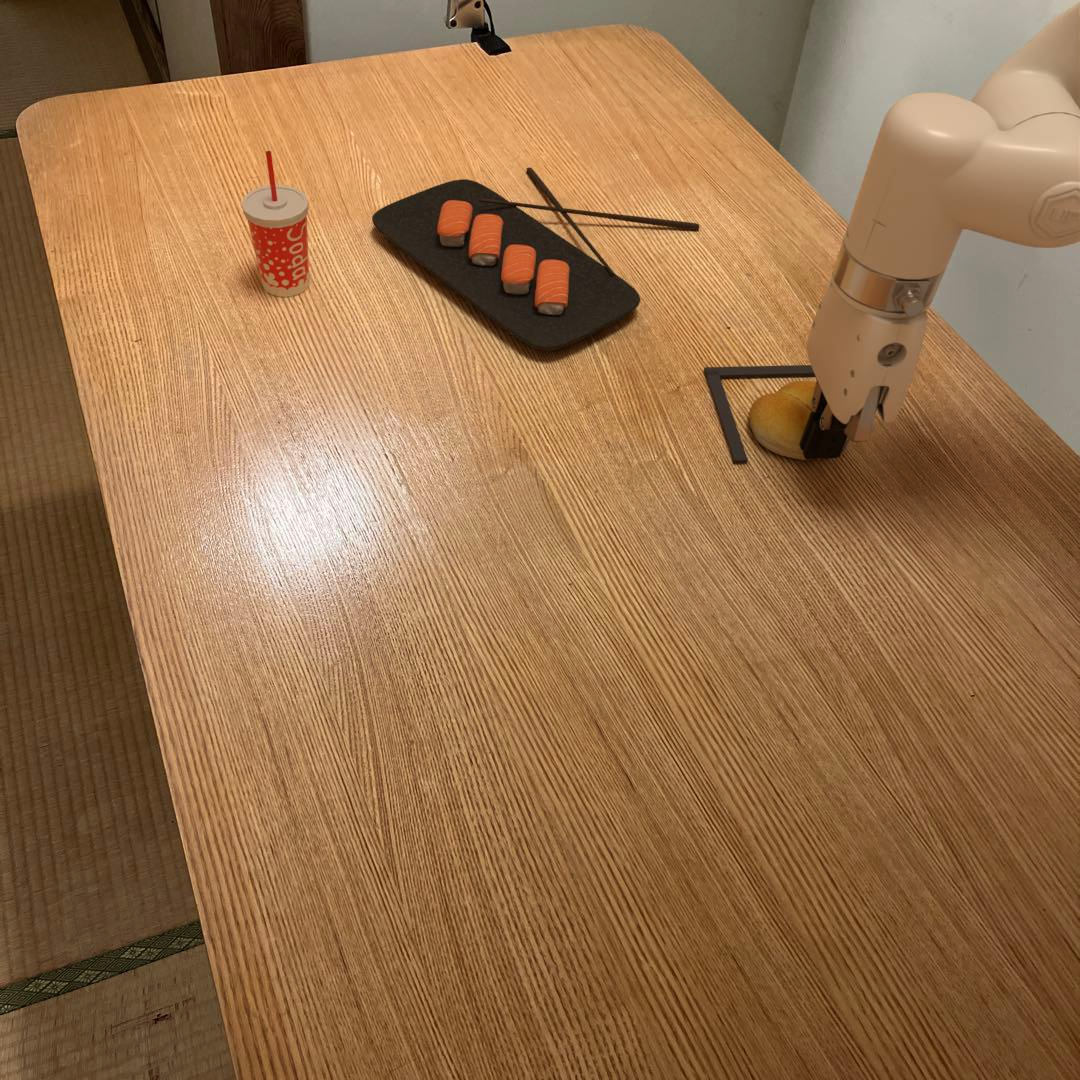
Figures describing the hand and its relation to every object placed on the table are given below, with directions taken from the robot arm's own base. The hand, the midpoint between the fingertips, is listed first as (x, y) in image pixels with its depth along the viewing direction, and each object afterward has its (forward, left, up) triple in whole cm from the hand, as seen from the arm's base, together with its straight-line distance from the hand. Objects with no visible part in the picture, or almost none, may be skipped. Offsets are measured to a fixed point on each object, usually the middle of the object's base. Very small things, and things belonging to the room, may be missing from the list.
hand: (818, 452), depth 92 cm
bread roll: (0, -5, -2) cm, 6 cm away
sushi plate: (+18, -35, -2) cm, 39 cm away
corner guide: (-1, -7, -2) cm, 7 cm away
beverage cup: (+46, -29, -2) cm, 54 cm away
